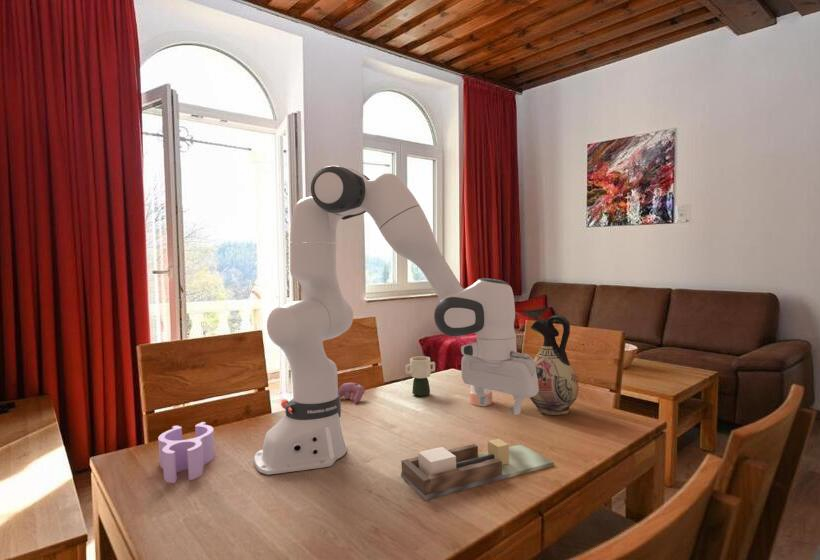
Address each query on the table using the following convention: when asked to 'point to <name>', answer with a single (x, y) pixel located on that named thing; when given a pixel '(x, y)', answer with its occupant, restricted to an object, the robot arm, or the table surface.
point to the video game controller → (349, 387)
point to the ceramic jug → (554, 369)
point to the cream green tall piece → (420, 374)
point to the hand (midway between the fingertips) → (499, 409)
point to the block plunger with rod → (446, 461)
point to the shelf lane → (471, 470)
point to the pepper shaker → (474, 397)
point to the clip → (186, 451)
